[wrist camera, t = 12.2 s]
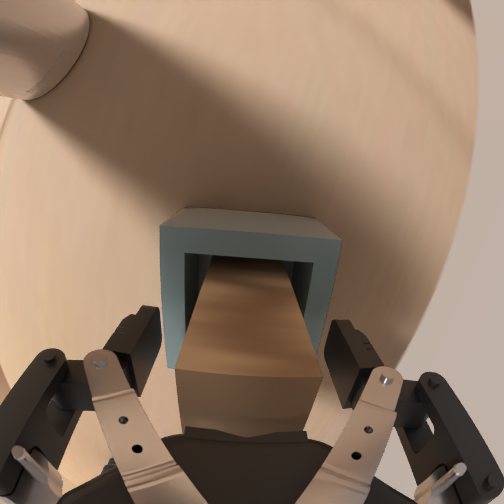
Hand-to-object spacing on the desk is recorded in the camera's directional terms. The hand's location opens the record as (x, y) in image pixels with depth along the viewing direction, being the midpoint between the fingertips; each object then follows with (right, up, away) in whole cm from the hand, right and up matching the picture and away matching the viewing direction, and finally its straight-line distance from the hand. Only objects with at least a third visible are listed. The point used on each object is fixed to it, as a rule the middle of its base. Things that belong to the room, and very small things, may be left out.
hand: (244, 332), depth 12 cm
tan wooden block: (0, +2, +6) cm, 6 cm away
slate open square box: (0, +2, +7) cm, 7 cm away
